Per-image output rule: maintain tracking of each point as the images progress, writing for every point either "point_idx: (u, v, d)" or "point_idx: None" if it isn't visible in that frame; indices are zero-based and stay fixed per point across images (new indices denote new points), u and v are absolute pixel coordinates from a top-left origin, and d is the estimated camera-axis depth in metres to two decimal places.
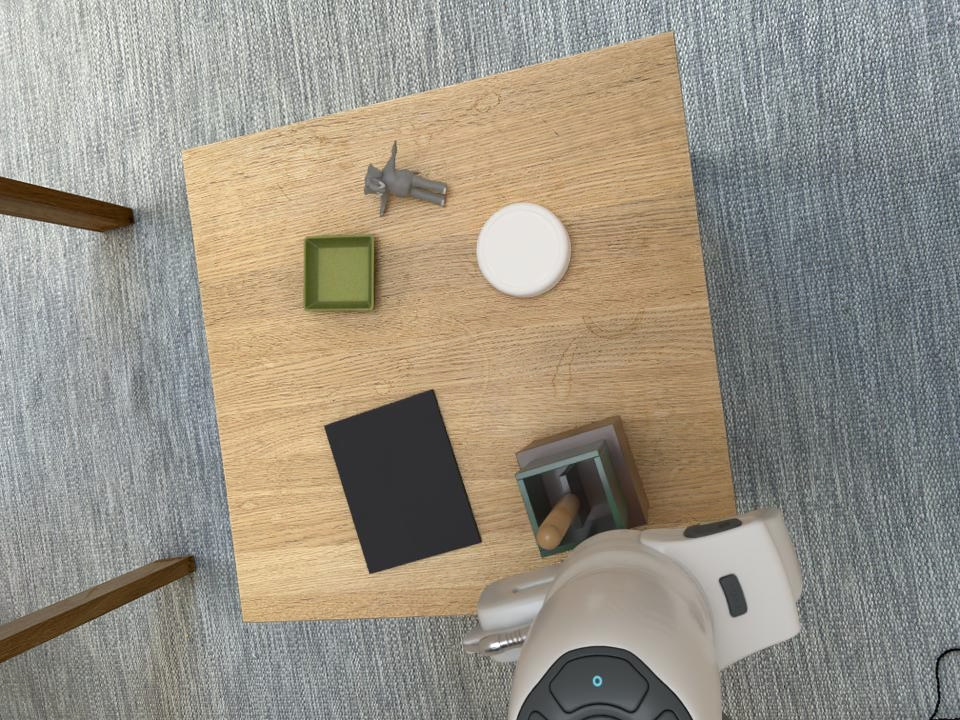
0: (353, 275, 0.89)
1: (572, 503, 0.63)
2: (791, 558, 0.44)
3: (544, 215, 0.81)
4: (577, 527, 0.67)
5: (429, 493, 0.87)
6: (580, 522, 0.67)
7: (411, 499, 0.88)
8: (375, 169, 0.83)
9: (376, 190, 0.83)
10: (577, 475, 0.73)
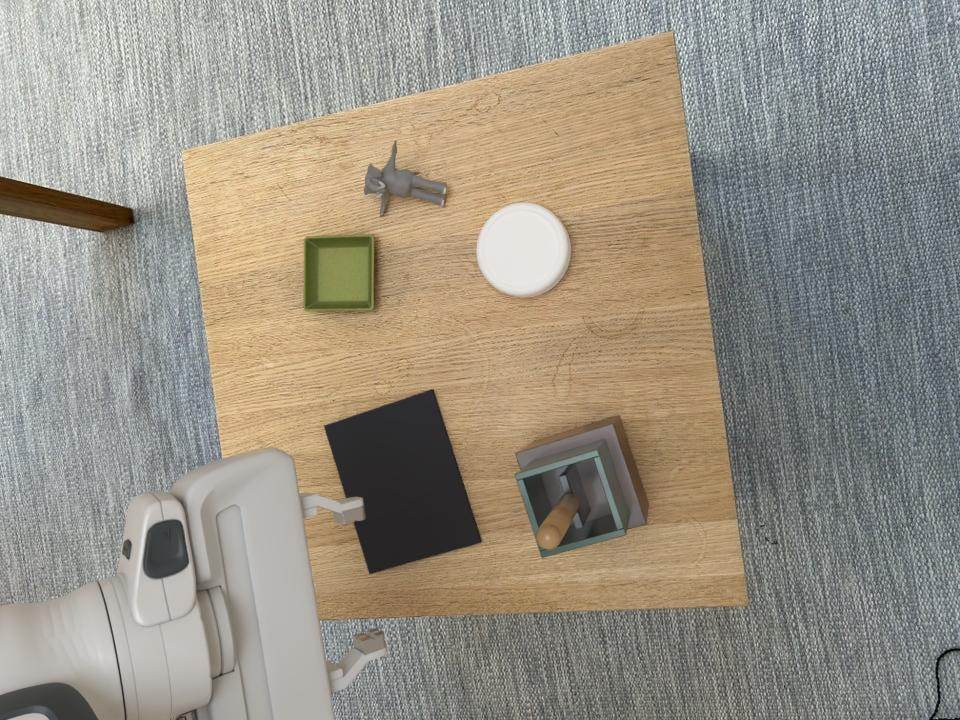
0: (353, 275, 0.89)
1: (572, 503, 0.63)
2: (196, 472, 0.48)
3: (544, 215, 0.81)
4: (577, 527, 0.67)
5: (429, 493, 0.87)
6: (580, 522, 0.67)
7: (411, 499, 0.88)
8: (375, 169, 0.83)
9: (376, 190, 0.83)
10: (577, 475, 0.73)
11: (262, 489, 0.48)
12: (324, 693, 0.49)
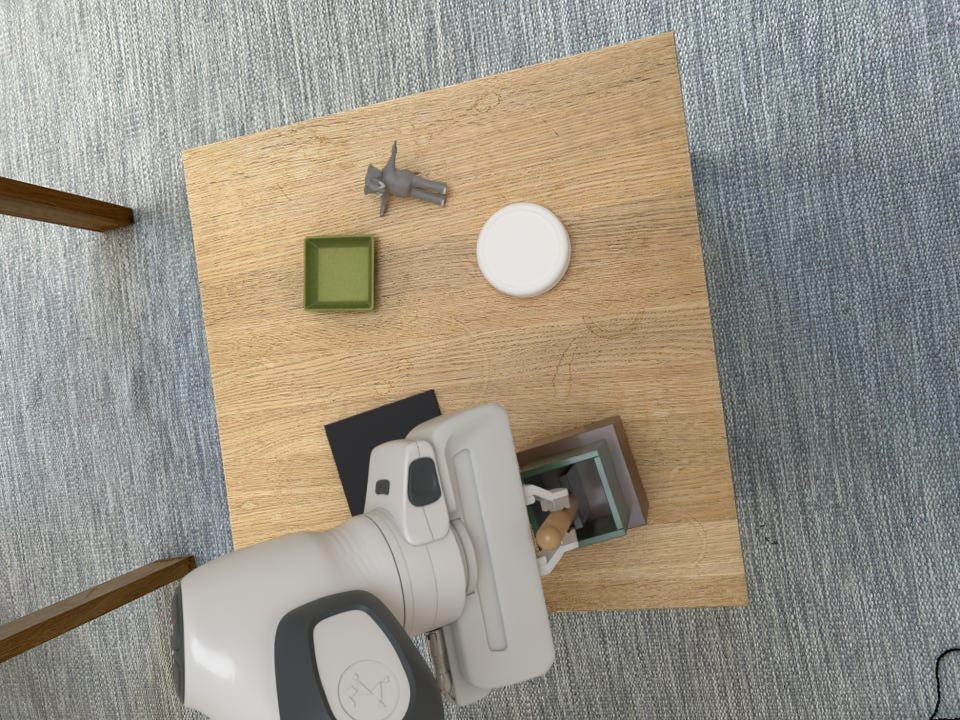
0: (353, 275, 0.89)
1: (572, 503, 0.63)
2: (430, 423, 0.55)
3: (544, 215, 0.81)
4: (577, 527, 0.67)
5: None
6: (580, 522, 0.67)
7: None
8: (375, 169, 0.83)
9: (376, 190, 0.83)
10: (577, 475, 0.73)
11: (486, 436, 0.56)
12: (544, 616, 0.56)
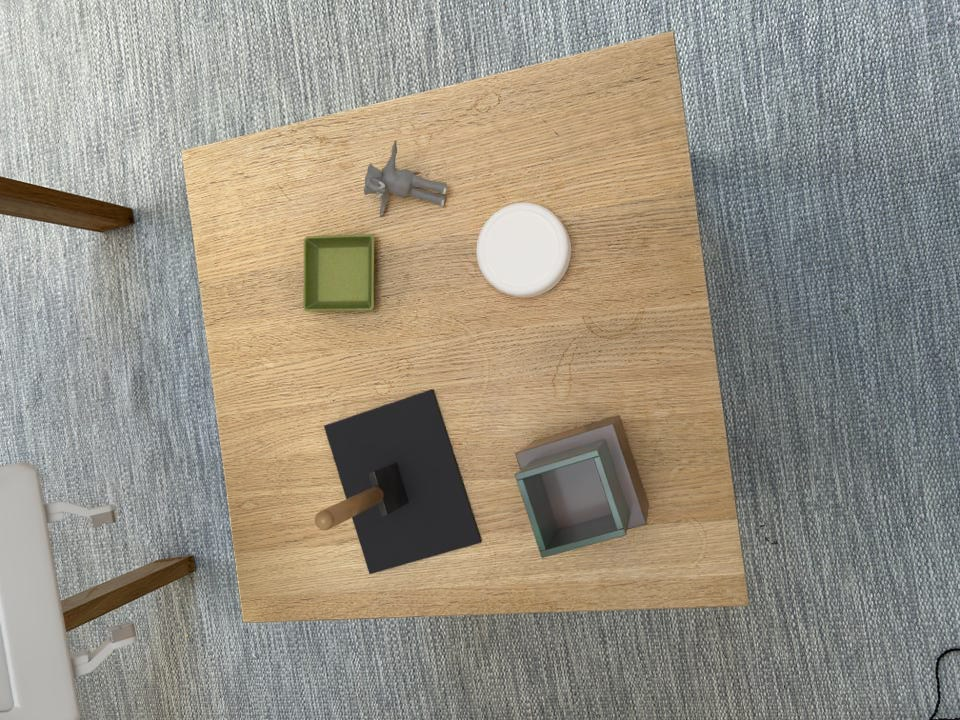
0: (353, 275, 0.89)
1: (369, 494, 0.77)
2: None
3: (544, 215, 0.81)
4: (383, 515, 0.81)
5: (429, 493, 0.87)
6: (385, 510, 0.81)
7: (411, 499, 0.88)
8: (375, 169, 0.83)
9: (376, 190, 0.83)
10: (396, 472, 0.87)
11: (3, 497, 0.56)
12: (65, 675, 0.56)
